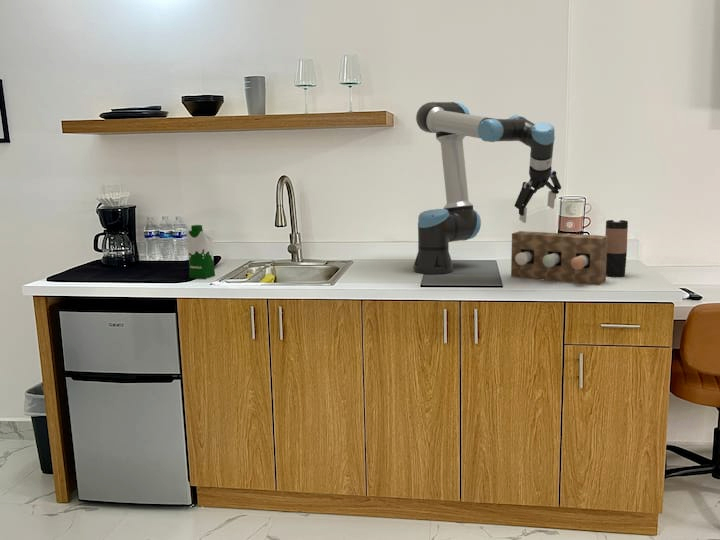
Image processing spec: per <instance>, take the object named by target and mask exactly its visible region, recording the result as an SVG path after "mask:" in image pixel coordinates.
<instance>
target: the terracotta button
mask: <svg viewBox="0 0 720 540" xmlns="http://www.w3.org/2000/svg"><path fill="white" fill-rule="evenodd" d="M588 263H589V258H588V256H587V255H580V256H577V257H574V258H573V259H572V261H571V265H572V267H573V268H574V269H576V270H579V269H582V268H583V267H584V266H586V265H588Z"/></svg>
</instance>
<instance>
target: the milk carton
mask: <svg viewBox="0 0 720 540" xmlns="http://www.w3.org/2000/svg"><path fill="white" fill-rule="evenodd" d="M214 231H215V229H211V228H210V229H206V228H204V229H203V225H201V224H193V225H191V226H190V230H186V231H185V235H186V239H187V251H188V269H189V271H188V273H189V279H201V280H202V279H203V280H206V279H210V278H212V277H215V276H216V273H215V262H214V261H215V260H214V245H213V244H214V243H213V240H214Z"/></svg>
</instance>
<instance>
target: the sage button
mask: <svg viewBox="0 0 720 540" xmlns="http://www.w3.org/2000/svg"><path fill="white" fill-rule="evenodd" d="M560 260H561V256H560V255H559V254H558V253H552V254H548V255H546V256H544V258H543V264H544V265H545V266H546V267H552V266H554V265H555V264H557V263H559V262H560Z"/></svg>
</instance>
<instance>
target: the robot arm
mask: <svg viewBox="0 0 720 540" xmlns="http://www.w3.org/2000/svg"><path fill="white" fill-rule="evenodd" d="M415 121H416V124H417V126H418V127H419V129H420V130H421V131H423V132H425V133H429V134H435V139H436V140H437V141H438V142H439V143H440V149H441V159H442V160H441V161H442V167H443V168H442V169H443V180H444V188H445V197H446V203H445V205H444V207H443V208H436V209H435V208H434V209H429V210H424V211H422V212H420V214H418V220H417V231H418V233H417V234H418V235H417V236H418V237H417V238H418V241H417V242H418V243H417V245H418V247H417V249H418V250H417V254H416V258H415V260H414V264H413V272H416V273H420V274H425V275H427V274H428V275H436V274H437V275H439V274H448V273H452V272H453V271H454V264H453V261H452V258H451V255H450V251H449V246H450V245H449V243H451V242H460V241H462V242H463V241H468V240H471V239H473V238H475V237H476V236H477V235H478V233H479V232H480V229H481V226H482V221H481V216H480V214H479V213H478V212H477V210H474V205H473V203H471V202H470V201H469V192H468V183H467V173H466V161H465V152H464V142H463V141H464V139H465V138H466V137H471V138H477V139H481V140H482V141H484V142H489V143H494V142H520V143H522V144H523V145H526V146H527V147H529V148H530V154H529V155H530V157H529V170H528V175H529V180H528V181H523V182H522V184H521V185H522V187H521V189H520V192H519V194H518V196H517V199H516V201H515V204H514V205H513V206H514V207H515V208H516V209H518V214H519V216H518V217H519V218H518V219H519V221H520V222H521V223H523V224H526V223H527V211H528V208H527V205H528V203H529V202H530V201H531V199H532V197H533V195H534V194H537V191H538V190H540V189H542V188H544V187H545V186H546V187H547V188H548V189H549V190H548V193H547V194H548V195H547V203H546V204H547V207H549V208H550V209H552V210H554V208H555V202H556V201H555V200H556V198H557V195H558V194H559V193H560V190H561V189H562V185H561V183H560V181H559V179H558V176H557V171H556V170H555V169H553V168H552V165H553V154H554V153H553V151H554V145H555V139H556V137H555V127H554V126H553V124H551V123H549V122H546V121H545V122H543V121H540V122H537V123H534V122H532V121H530V120H528V119H527V118H525V117H524V116H521V115H519V114H514V115H512V116H510V117H508V118H505V119H504V118H493V117H488V116H480V115H475V114H471V113H470V111H469V109H468V108H467V107H466V106H465V105H464V104H463V103H460V102H454V101H442V102H438V101H437V102H436V101H432V102H426V103H424V104H423V105H421V106H420V107H419V108H418V110H417V112H416V115H415ZM549 179H550V180H551V182H549ZM551 183H552V184H551Z"/></svg>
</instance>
